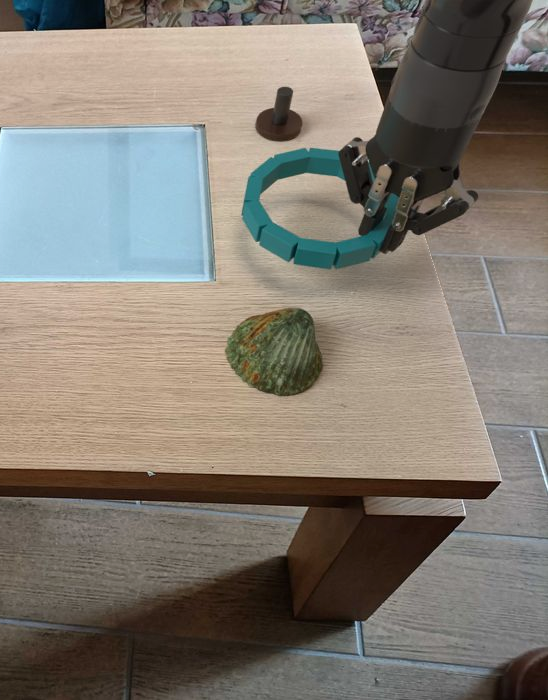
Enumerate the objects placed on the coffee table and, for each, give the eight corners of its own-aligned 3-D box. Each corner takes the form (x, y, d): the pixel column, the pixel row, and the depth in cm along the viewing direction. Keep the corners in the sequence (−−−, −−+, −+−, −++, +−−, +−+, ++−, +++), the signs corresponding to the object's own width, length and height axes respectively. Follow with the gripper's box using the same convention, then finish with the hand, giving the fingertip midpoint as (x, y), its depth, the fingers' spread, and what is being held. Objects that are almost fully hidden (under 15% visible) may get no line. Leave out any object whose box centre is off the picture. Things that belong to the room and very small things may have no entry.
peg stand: (296, 112, 92) (304, 75, 88) (304, 140, 89) (313, 103, 84) (252, 114, 92) (258, 78, 88) (258, 142, 89) (265, 106, 84)
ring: (349, 152, 79) (355, 135, 77) (424, 247, 70) (432, 230, 68) (221, 183, 77) (223, 166, 75) (279, 284, 68) (284, 268, 66)
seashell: (212, 329, 67) (278, 276, 70) (206, 351, 70) (269, 299, 74) (291, 395, 63) (357, 336, 66) (281, 415, 66) (344, 357, 70)
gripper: (541, 108, 54) (457, 255, 68) (387, 48, 60) (340, 195, 75) (496, 154, 52) (418, 298, 66) (340, 86, 58) (300, 231, 72)
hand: (377, 242), depth 70 cm, fingers closed on ring, 1 cm apart
